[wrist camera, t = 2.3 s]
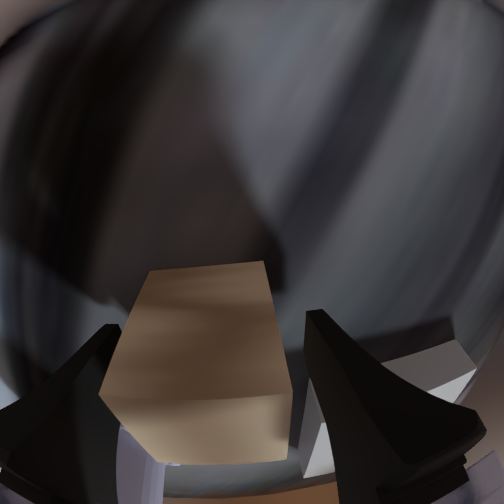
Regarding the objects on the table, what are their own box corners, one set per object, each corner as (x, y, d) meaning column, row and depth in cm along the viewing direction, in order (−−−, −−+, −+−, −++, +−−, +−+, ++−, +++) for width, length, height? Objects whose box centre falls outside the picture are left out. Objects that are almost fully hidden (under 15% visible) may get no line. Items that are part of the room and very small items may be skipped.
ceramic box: (296, 445, 19) (303, 478, 16) (307, 372, 14) (321, 423, 11) (406, 415, 20) (419, 443, 17) (452, 335, 15) (477, 368, 12)
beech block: (174, 350, 12) (157, 462, 7) (149, 270, 10) (98, 394, 5) (267, 344, 13) (286, 459, 7) (263, 260, 11) (292, 392, 5)
